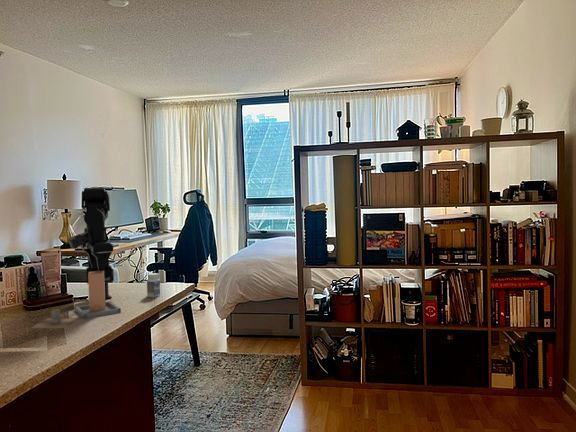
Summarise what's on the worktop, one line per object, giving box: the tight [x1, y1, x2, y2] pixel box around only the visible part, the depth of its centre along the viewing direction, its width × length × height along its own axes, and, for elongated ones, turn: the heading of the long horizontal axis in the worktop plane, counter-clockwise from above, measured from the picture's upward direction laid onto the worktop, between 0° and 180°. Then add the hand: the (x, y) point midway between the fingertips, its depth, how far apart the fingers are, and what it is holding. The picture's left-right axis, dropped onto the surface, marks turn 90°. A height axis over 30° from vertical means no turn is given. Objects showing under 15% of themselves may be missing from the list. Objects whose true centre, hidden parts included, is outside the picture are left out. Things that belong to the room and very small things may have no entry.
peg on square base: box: [29, 309, 80, 330], centre depth 129 cm, size 10×10×4 cm
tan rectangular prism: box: [88, 271, 106, 313], centre depth 139 cm, size 6×5×13 cm
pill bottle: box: [146, 272, 161, 298], centre depth 164 cm, size 5×5×8 cm
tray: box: [75, 301, 122, 320], centre depth 141 cm, size 12×11×2 cm
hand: (97, 270), depth 147 cm, fingers open, 9 cm apart
